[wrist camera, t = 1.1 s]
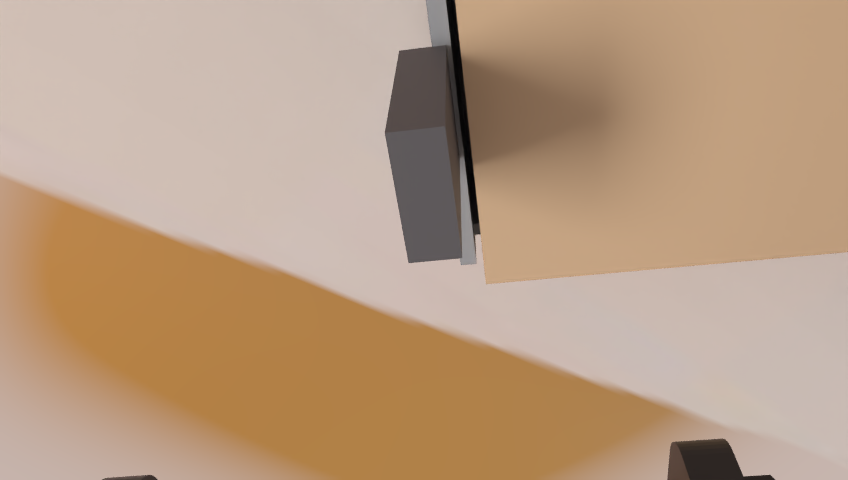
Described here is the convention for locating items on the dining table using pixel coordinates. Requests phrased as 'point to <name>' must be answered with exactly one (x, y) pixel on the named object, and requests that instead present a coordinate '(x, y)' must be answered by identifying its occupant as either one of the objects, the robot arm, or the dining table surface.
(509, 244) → the mailer sleeve
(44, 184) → the dining table surface
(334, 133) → the dining table surface
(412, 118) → the tray
